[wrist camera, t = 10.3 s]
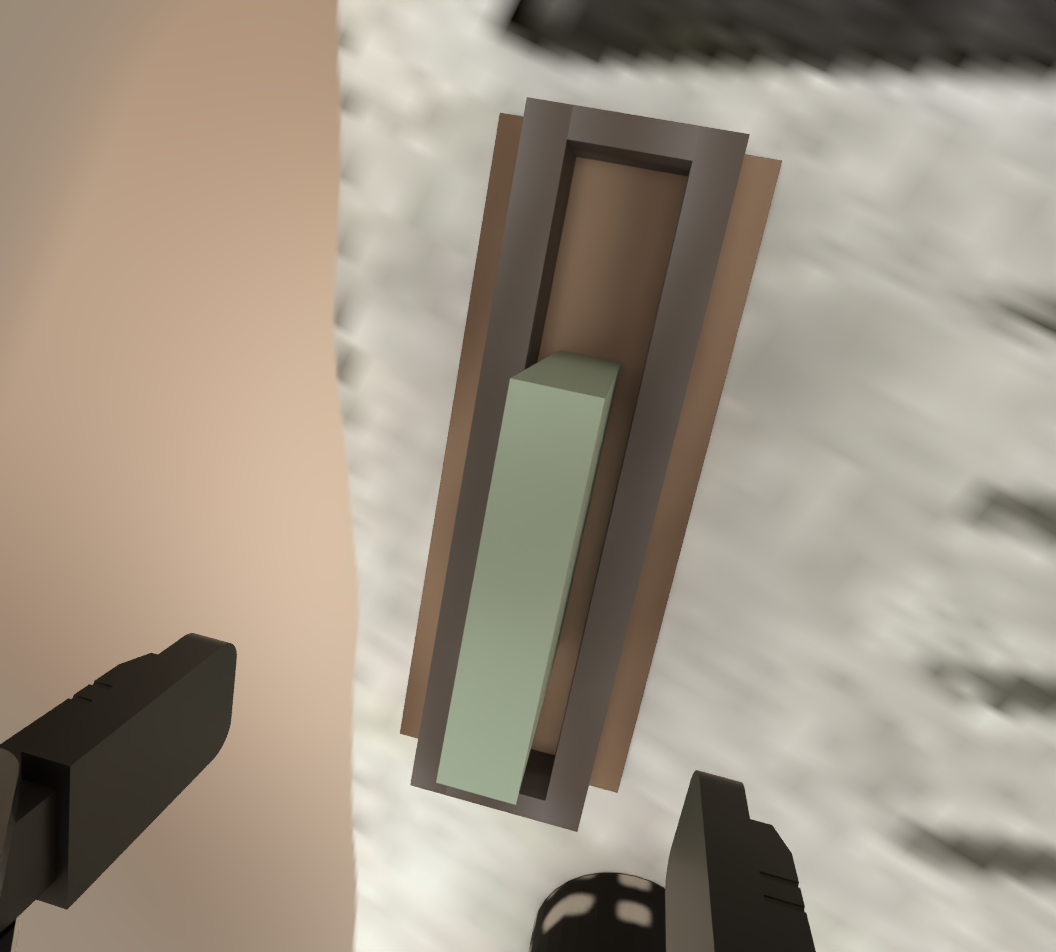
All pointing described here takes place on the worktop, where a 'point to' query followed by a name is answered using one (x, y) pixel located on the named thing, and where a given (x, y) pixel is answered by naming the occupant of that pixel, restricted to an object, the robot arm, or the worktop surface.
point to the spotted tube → (602, 916)
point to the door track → (635, 418)
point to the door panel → (525, 568)
